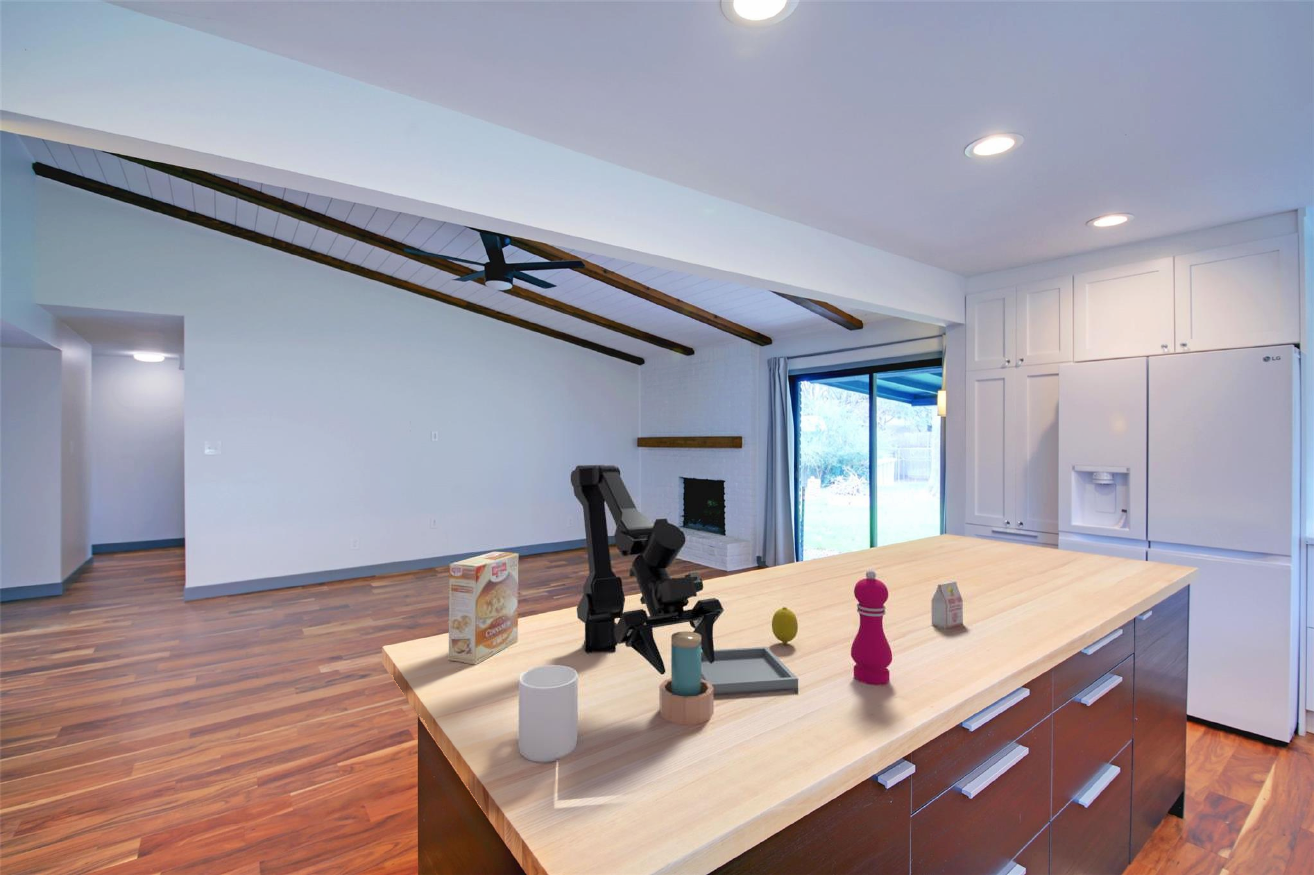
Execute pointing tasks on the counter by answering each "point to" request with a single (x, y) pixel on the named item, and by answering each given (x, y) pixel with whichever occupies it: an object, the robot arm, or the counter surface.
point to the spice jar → (686, 664)
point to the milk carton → (947, 606)
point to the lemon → (784, 625)
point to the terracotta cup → (686, 704)
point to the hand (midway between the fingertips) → (688, 667)
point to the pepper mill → (871, 632)
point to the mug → (548, 712)
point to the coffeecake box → (483, 606)
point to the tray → (747, 672)
